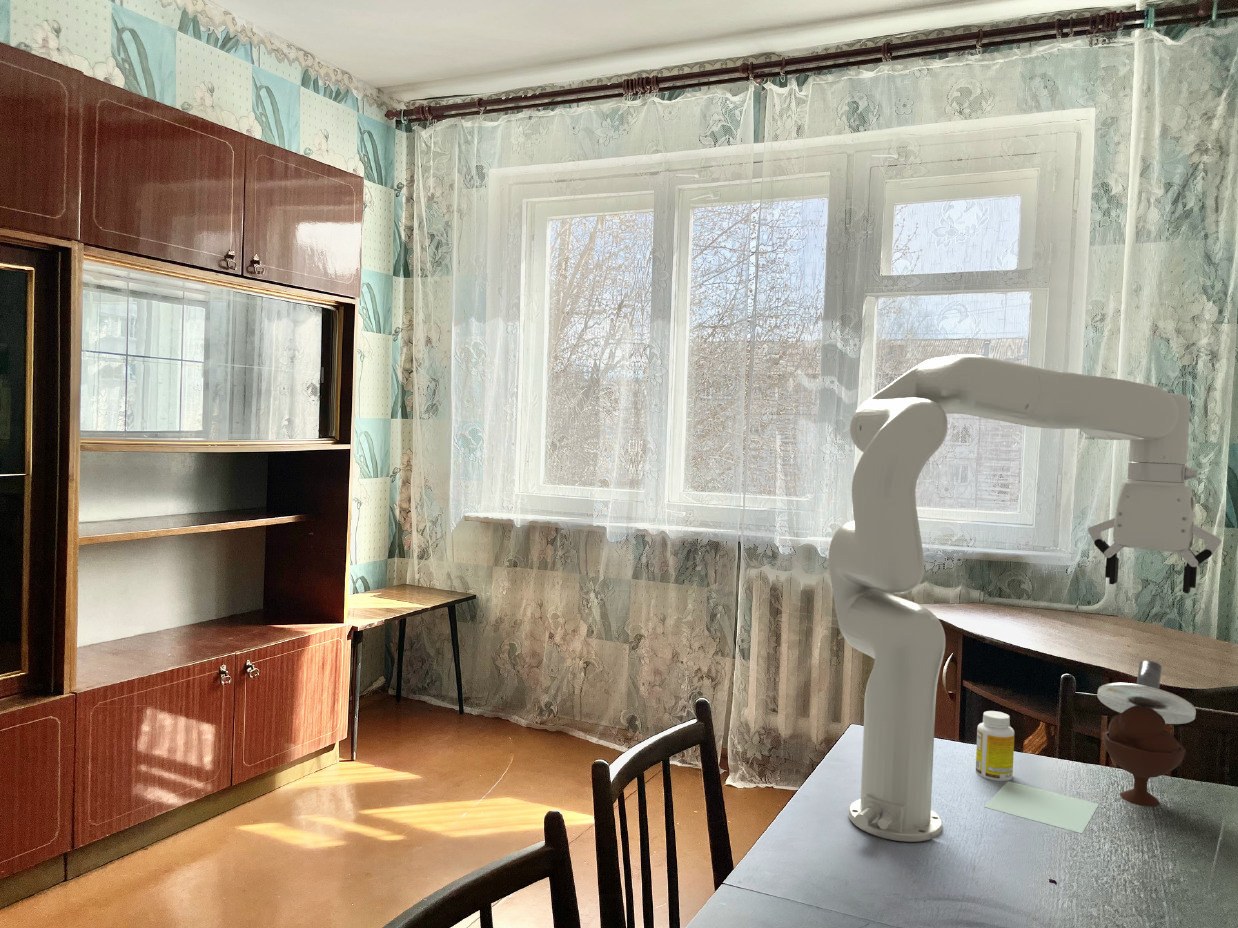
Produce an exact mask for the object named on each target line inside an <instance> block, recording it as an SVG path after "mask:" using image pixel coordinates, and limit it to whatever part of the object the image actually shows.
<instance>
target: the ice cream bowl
mask: <svg viewBox="0 0 1238 928" xmlns="http://www.w3.org/2000/svg"><path fill="white" fill-rule="evenodd" d="M1101 735H1102V742H1103V745H1104V747H1105V749H1106V751H1107V753H1108V755H1109V756H1110V758H1111V759H1112V761H1114V762H1115V764H1116V765H1117V766H1118V767H1120V769H1123V770H1124V771H1125V772H1128V773H1129V774H1132V777H1133V778H1134V779H1133V780H1134V782H1133V788H1132V789H1128V790H1126V791H1123V792H1120V794H1119V796H1120V797H1121V799H1122V800H1124V801H1126V802H1128V803H1130V804H1133V805H1138V806H1142V807H1152V808H1153V807H1157V806H1159V805H1161V803H1160V800H1159V799H1158V798H1157V797H1155V795H1153V794H1151V793H1150V792H1149V791H1148V782H1149V780H1150V779H1151V778H1158V777H1160V776H1163V775H1166V774H1168V773H1170V772H1171V771H1173V770H1174V769H1176V768H1177V767H1179V766H1180V764H1181V763H1182V761H1183V760H1184V758H1185V755H1186V751H1187V749H1186V747H1185V746H1184V745H1183V744H1182V743H1181V742H1180V741H1179V740H1177V739H1176V738H1175V736H1174V735H1172V734H1171V733H1170V732H1168V731H1167V730H1166V724H1165V720H1164V719H1163V717H1162V716H1161V715H1160V714H1158V713H1157V712H1156V711H1154V710H1153V709H1151V708H1148V707H1146V706H1132V707H1130V708H1128V709H1126V710H1125V711H1124V712H1122V713H1120V712H1119V713H1118V714H1116V715H1115V716H1113V718H1112V719H1111V720H1110V721H1109V724H1108V727H1107V730H1105V731H1102V732H1101Z"/></svg>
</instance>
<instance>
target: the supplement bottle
mask: <svg viewBox="0 0 1238 928" xmlns="http://www.w3.org/2000/svg"><path fill="white" fill-rule="evenodd" d="M1010 717H1011V716H1010V715H1009V714H1007V713H1004V712H1002V711H995V710H987V711H984V712H983V715H982V722H980V723H979V724H978V725H977V729H976V749H975V750H976V752H975V755H976V756H975V772H976V774H977V775H978V776H980V777H982V778H984V779H986V780H990V781H996V782H1007V781H1010V780H1012V779H1013V773H1014V755H1015V753H1014V751H1015V730H1014V728H1013V727H1011V725H1010V724H1011V722H1010V720H1011V718H1010Z"/></svg>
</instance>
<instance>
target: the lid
mask: <svg viewBox="0 0 1238 928" xmlns="http://www.w3.org/2000/svg"><path fill="white" fill-rule="evenodd" d="M1138 664H1139V665H1138V672H1137V680H1136V683H1132V682H1131V683H1130V682H1129V683H1128V682H1111V683H1110V682H1109V683H1105V684H1102V685H1101V686H1099V687H1098V689H1097V695H1096V696H1097V698H1098V700H1099V701H1100V702H1101V703H1102V704H1103V705H1105V707H1107V708H1109V709H1111V710H1113V711H1115V712H1117V713H1119V714H1120V713H1122V712H1124V711H1125V710H1126V709H1128V708H1130V707H1132V706H1146V707H1148V708H1151V709H1153V710H1154V711H1156V712H1157V713H1158V714H1160V715H1161V716H1162V717H1163V719H1164V720H1165V724H1164V725H1167V724H1168V725H1180V724H1181V725H1182V724H1188V723H1190V722H1193V721H1194V720H1196V715H1197V714H1196V713H1197V711H1196V707H1195V706H1194V705H1193V704H1192V703H1191V702H1190V701H1188V700H1186V699H1185V698H1183V697H1181V696H1179V695H1176V694H1174V693H1173V692H1169V691H1167V690H1163V689H1160V684H1161V676H1162V669H1163V667H1162V665H1161V664H1160V663H1158V662H1155V661H1151V660H1141V661H1139V663H1138Z"/></svg>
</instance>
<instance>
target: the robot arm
mask: <svg viewBox="0 0 1238 928" xmlns="http://www.w3.org/2000/svg"><path fill="white" fill-rule="evenodd" d="M1190 413H1191V403H1190V399H1189V398H1188V396H1186V395H1184V394H1181V393H1172V392H1167V391H1166V390H1164V389H1162V388H1160V387H1157V386H1154V385H1150V384H1145V383H1141V382H1135V381H1130V380H1125V379H1121V378H1120V379H1119V378H1113V377H1106V376H1105V377H1104V376H1096V375H1089V374H1081V373H1076V372H1070V371H1063V370H1055V369H1054V370H1053V369H1048V368H1042V367H1037V366H1032V365H1031V366H1030V365H1027V364H1021V363H1017V362H1012V361H1007V360H1002V359H998V358H993V357H990V356H984V355H978V354H969V353H966V354H965V353H963V354H955V355H948V356H940V357H939V356H938V357H934V358H930V359H926V360H924V361H923V362H921V363H919V364H918V365H916V366H914V367H913V368H911V369H910V370H908V371H907V372H905V373H904V374H903V375H901V376H900V377H898V378H897V379H895V380H894V381H892V382H891V383H890V384H888V385H887V386H885V387H884V388H883V389H881V390H880V391H878V392H877V393H875V394H874V395H872V396H871V397H869V398H868V399H867V400H865V401H864V402H863V403H862V404H860V405H859V407H858V408H857V409H856V410H855V412H854V414H853V415H852V418H851V420H850V426H849V433H850V439H851V440H852V442H853V444H854V445H855V447H856V448H857V449H859V451H860V452H862V455H861V457H860V458H859V461H858V463H857V465H856V467H855V470H854V472H853V476H852V482H851V502H852V511H853V512H852V513H853V520H850V521H848V522H845V523H844V524H842V525H841V526H840V527H839V528H838V529H837V530H836V531H835V533H834V534H833V536H832V539H831V540H830V544H829V548H828V556H827V557H828V569H829V576H830V581H831V588H832V594H833V595H832V597H833V600H834V601H833V602H834V606H835V613H836V618H837V619H836V620H837V622H838V623H837V624H838V627H839V630H840V632H841V635H842V636H843V639H844V640H845V642H847V643H848V644H849V646H851V647H852V648H853V649H856V650H857V651H859V652H861V653H863V654H865V655H867V656H868V657H871V658H872V659H874V664H873V666H872V670H871V672H870V675H869V677H868V680H867V683H866V686H865V692H864V693H865V694H864V701H863V703H864V705H863V710H864V713H863V735H862V736H863V737H862V762H861V763H862V764H861V784H860V785H861V787H860V788H861V789H860V798H858V799H857V800H855V801H853V802H851V804H850V805H849V808H848V818H849V819H850V821H851V822H852V823H853V824H854V825H855V826H856V827H858V828H859V829H860V830H862V831H864V832H866V833H867V834H869V835H873V836H875V837H879V838H883V839H886V840H892V841H897V842H906V843H907V842H911V843H912V842H913V843H914V842H924V841H929V840H933V839H934V838H936V837H938V836H939V835H940V834H941V833H942V830H943V820H942V818H941V817H940V816H939V814H938V813H936V812H935V811H934V810H932V791H933V790H932V788H933V769H934V750H935V749H934V745H935V744H934V742H935V724H936V723H935V722H936V721H935V720H936V702H937V701H936V700H937V690H938V689H937V688H938V681H939V677H940V676H939V675H940V671H941V667H942V664H943V660H944V656H945V652H946V651H945V650H946V634H945V630H944V627H943V625H942V623H941V621H940V619H939V618H938V617H937V616H936V615H935V614H934V613H933V612H932V611H931V610H930V609H928V608H926V606H925V607H924V605H921V604H919V603H916V602H914V601H911V600H909V599H906V598H903V597H900V596H896V595H899V594H906V593H908V592H911V591H913V590H914V589H916V588H917V587H918V586H919V585H920V584H921V582H922V580H923V576H924V575H925V574H924V573H925V558H924V557H925V556H924V550H923V543H922V536H921V531H920V524H919V523H920V522H919V517H918V511H917V498H916V494H917V493H916V492H917V491H916V489H917V483H918V480H919V476H920V474H921V472H922V469H924V468H925V466H926V464H927V462H928V461H929V460H930V458H931V457H932V456H933V455H935V453H936V452H937V451H938V450H939V449H940V448H941V446H942V444H943V443H944V441H945V440H946V439H945V438H946V436H947V434H948V433H947V432H948V428H949V427H948V424H949V422H948V417H947V415H949V414H959V415H968V416H973V417H978V418H983V419H989V420H994V421H1000V422H1006V423H1010V424H1015V425H1020V426H1024V427H1025V426H1026V427H1030V428H1039V429H1050V430H1051V429H1052V430H1053V429H1054V430H1061V429H1062V430H1069V429H1073V430H1074V429H1075V430H1080V431H1081V432H1082V433H1084V434H1085V435H1087V436H1089V437H1091V438H1093V439H1098V440H1110V441H1111V440H1112V441H1122V440H1125V441H1129V447H1128V449H1129V450H1128V462H1127V463H1128V464H1127V480H1126V482H1122V483H1121V487H1120V489H1119V493H1118V498H1117V502H1116V509H1115V517H1114V518H1112V519H1109V520H1106V521H1103V522H1100V523H1098V524H1095V525H1092V526H1089V527H1088V529H1087V532H1088V534H1089V535H1090V538H1091V539H1092V541H1093V543H1094V544H1093V545H1095V547H1096V548H1097V549H1098V550H1099V551H1100V552H1101V553H1102V554H1103V556H1104V558H1106V561H1105V573H1104V574H1105V575H1104V577H1105V578H1106V579H1107V578H1108V584H1109V585H1115V584H1117V583H1118V579H1119V563H1120V562H1119V561H1120V558H1119V557H1118V553H1119V552H1120V551H1122V549H1123V548H1130V549H1139V550H1147V551H1156V552H1157V551H1158V552H1168V553H1179V554H1180V556H1181V557H1182V558H1183V559H1184V561H1185V562H1186V564H1185V566H1183V578H1182V579H1183V582H1182V593H1184V594H1190V593H1191V589H1196V586H1197V573H1198V566H1199V565H1201V564H1202V563H1204V562H1205V561H1207V560H1208V559H1209V558H1210V557H1211V556H1213V554H1214V553H1215V551H1216V550H1217V549H1218V548H1219V546H1220V544H1221V543H1222V539H1221V537H1218V536H1217V535H1215V534H1212V533H1211V532H1209V531H1207V530H1205V529H1203V528H1201V527H1199V526H1197V525H1196V524H1195V523H1194V522H1195V519H1194V518H1195V517H1194V515H1195V512H1194V511H1195V509H1194V508H1195V507H1194V497H1193V496H1194V495H1193V489H1192V486H1190V485H1186V482H1187V481H1188V480H1191V479H1197V478H1198V472H1199V471H1198V469H1193V468H1189V466H1188V465H1187V461H1188V444H1189V429H1190V416H1191V415H1190ZM1109 529H1113V535H1112V538H1113V539H1112V540H1113V542H1114V543H1112V545H1109V544H1108V543H1107V542H1106V541H1105V540H1104V538H1103V537H1102V532H1105V531H1106V530H1109ZM1194 536H1196V537H1198V538H1199V539H1201V540H1203V541H1206V546H1205V548H1204V549H1202V550H1201V552H1199V553H1197V554H1195V553H1194V551H1193V550H1192V547H1193V544H1194V543H1193V542H1194Z"/></svg>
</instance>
